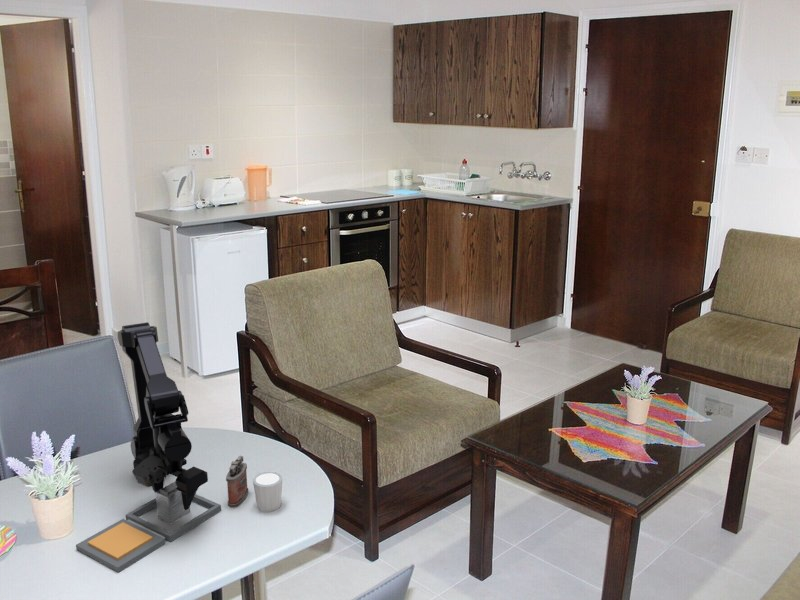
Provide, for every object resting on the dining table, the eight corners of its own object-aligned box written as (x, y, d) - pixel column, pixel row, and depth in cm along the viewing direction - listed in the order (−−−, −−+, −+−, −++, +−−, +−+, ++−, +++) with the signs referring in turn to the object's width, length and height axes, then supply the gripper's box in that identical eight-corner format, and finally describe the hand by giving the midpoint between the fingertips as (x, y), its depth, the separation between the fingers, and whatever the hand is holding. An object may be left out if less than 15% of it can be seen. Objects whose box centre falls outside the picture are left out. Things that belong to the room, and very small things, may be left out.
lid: (76, 549, 163) (75, 542, 163) (127, 521, 174) (126, 514, 173) (118, 572, 156) (117, 565, 155) (168, 541, 166) (168, 534, 166)
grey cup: (258, 515, 176) (256, 488, 174) (251, 500, 182) (249, 474, 180) (287, 509, 179) (285, 482, 177) (279, 494, 185) (278, 469, 183)
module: (157, 519, 174) (155, 490, 172) (178, 507, 179) (175, 478, 177) (169, 524, 172) (167, 495, 170) (190, 512, 177) (187, 483, 175)
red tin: (238, 508, 179) (235, 470, 176) (224, 506, 179) (222, 468, 177) (251, 490, 186) (249, 453, 184) (238, 489, 187) (236, 452, 184)
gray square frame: (125, 520, 174) (125, 514, 173) (177, 491, 186) (177, 486, 185) (170, 542, 166) (169, 536, 165) (221, 510, 178) (220, 504, 177)
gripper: (110, 444, 169) (117, 506, 173) (166, 468, 159) (172, 533, 164) (150, 426, 178) (156, 485, 182) (207, 447, 168) (211, 509, 173)
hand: (173, 503), depth 175 cm, fingers open, 9 cm apart
